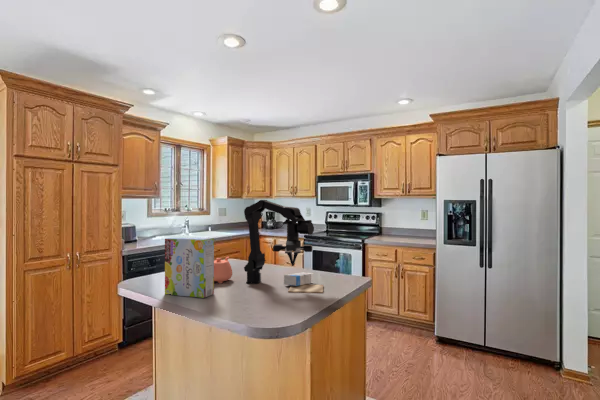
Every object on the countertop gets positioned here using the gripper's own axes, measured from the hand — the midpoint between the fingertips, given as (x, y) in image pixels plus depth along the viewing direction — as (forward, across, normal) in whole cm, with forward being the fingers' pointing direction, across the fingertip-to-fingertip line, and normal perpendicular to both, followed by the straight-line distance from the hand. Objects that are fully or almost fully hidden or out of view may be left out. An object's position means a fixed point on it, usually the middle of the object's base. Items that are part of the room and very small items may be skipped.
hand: (292, 265), depth 161 cm
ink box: (+8, -2, +2) cm, 8 cm away
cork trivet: (+11, +6, 0) cm, 13 cm away
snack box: (+11, -46, -13) cm, 49 cm away
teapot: (+11, -41, +13) cm, 44 cm away
